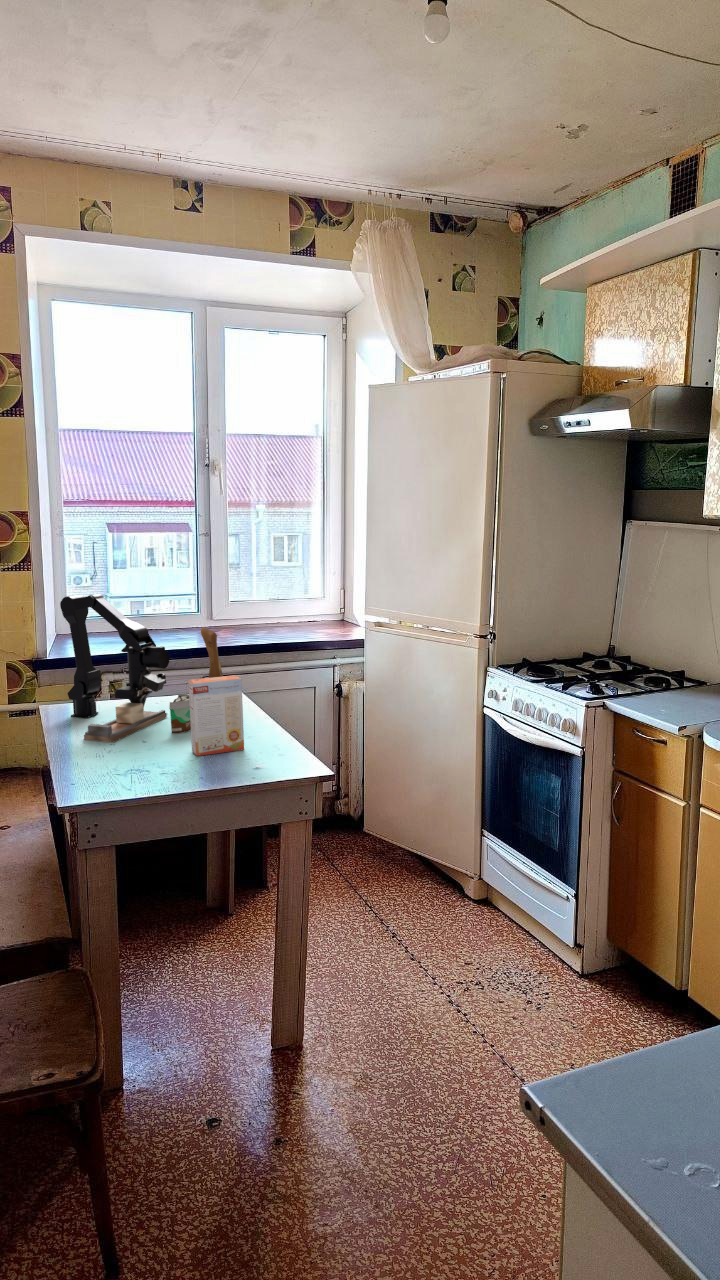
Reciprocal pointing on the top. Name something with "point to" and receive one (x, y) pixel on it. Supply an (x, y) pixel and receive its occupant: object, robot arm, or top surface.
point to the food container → (180, 714)
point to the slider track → (121, 728)
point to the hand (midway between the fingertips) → (139, 714)
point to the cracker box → (216, 715)
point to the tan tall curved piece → (212, 652)
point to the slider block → (129, 712)
